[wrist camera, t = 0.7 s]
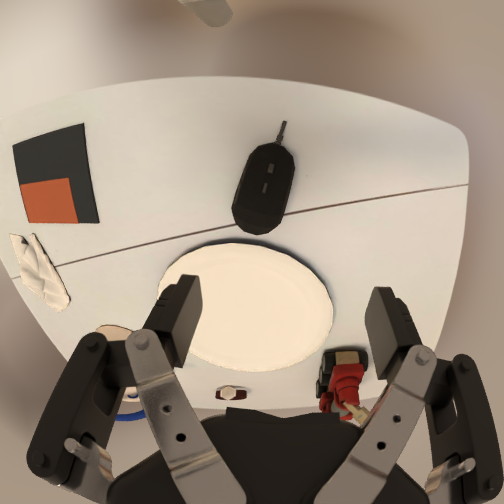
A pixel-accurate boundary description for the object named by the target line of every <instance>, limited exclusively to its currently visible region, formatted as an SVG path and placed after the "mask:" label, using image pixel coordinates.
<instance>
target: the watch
mask: <svg viewBox="0 0 504 504" xmlns="http://www.w3.org/2000/svg"><path fill="white" fill-rule="evenodd" d="M215 398H216V399H221V400H227V401H228V400H241V399H245V398H247V393H246V391H245V390H236V389H235V390H234V389H233V388H232V387H225V388H224V389H223V390H221V391H216V396H215Z"/></svg>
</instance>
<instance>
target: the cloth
mask: <svg viewBox="0 0 504 504" xmlns="http://www.w3.org/2000/svg"><path fill="white" fill-rule="evenodd" d="M9 235H10V238H11V241H12V244H13V247H14V250H15V253H16V255H17V258H18V261H19V263H20V275H21V279H22V281H23V283H24V284H25V285H26V286H27V287H28V288H30V289H31V290H32V291H33V292H35V293H36V294H37V295H38V296H40V297H41V298H43V299H44V300H45V302H46V303H47V304H48V305H49V306H50V307H53V308H54V309H55V310H56V311H57V312H60V311H62V310H63V309H65V308H66V307H67V306H68V305H69V302H70V297H69V296H68V295H67V293H66V290H65V287H64V285H63V283H62V281H61V279H60V277H59V275H58V273H57V272H56V271H55V269H54V266H53V265H52V263H51V262H50V261H49V258H48V256H47V254H46V253H45V252H44V251H43V249H42V247H41V245H40V243H39V242H38V240H37V239H36V238H35V235H34V234H32V235H30V241H31V242H30V244H29V245H28V244H27V243H26V242H25V240H24V239H23V237H21V236H18V235H13V234H9Z"/></svg>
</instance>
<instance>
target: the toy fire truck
mask: <svg viewBox="0 0 504 504" xmlns="http://www.w3.org/2000/svg"><path fill="white" fill-rule="evenodd" d="M367 368H368V354H367V352H366V351H363V352H357V351H348V352H335V353H326V354H323V359H322V366H321V367H320V373H319V381H317V384H316V398H317V399H318V398H321V399H320V402H319V409H320V410H321V411H322V413H327V412H339V413H340V419H341V420H351V419H352V418H354V419H355V420H356V421H358V423H359V424H360V425H361V424H362V423H363V422H364V420H365V419H366V417H367V416H368V415H369V413H370V412H369V411H368V410H367V409H366V408H365V407H362V408H360V406H358V405H359V404H360V402H359V394H358V390H359V384H360V383H361V381H362V378H363V375H364V372H366V371H367Z"/></svg>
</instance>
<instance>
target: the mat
mask: <svg viewBox="0 0 504 504" xmlns="http://www.w3.org/2000/svg"><path fill="white" fill-rule="evenodd" d="M12 147H13V154H14V160H15V166H16V172H17V177H18V182H19V186H20V191H21V195H22V199H23V203H24V207H25V211H26V214H27V218H28V221H29V223H75V224H78V223H100V222H99V218H98V213H97V209H96V204H95V199H94V194H93V188H92V183H91V177H90V171H89V164H88V157H87V149H86V141H85V131H84V123H83V124H79V125H75V126H71V127H67V128H64V129H60V130H57V131H53V132H50V133H47V134H44V135H40V136H37V137H34V138H32V139H29V140H26V141H23V142H20V143H18V144H15V145H13V146H12Z"/></svg>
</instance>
